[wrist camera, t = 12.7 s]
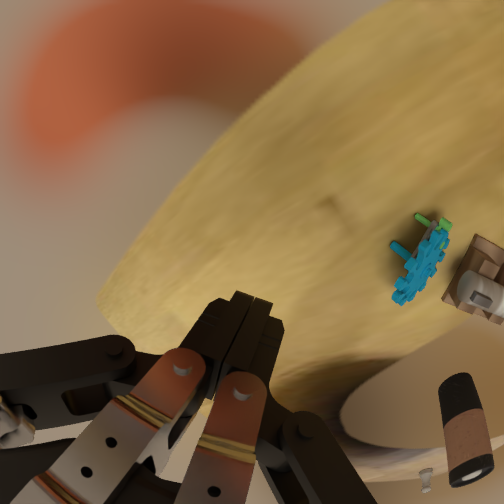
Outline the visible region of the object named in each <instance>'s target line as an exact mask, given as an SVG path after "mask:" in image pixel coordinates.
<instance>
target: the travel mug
mask: <svg viewBox="0 0 504 504" xmlns="http://www.w3.org/2000/svg"><path fill="white" fill-rule="evenodd" d="M438 394H439V401H440V407H441V414H442V421H443V429H444V437H445V444H446V452H447V460H448V471H449V483H450V485H451V487H452V488H457V487H461V486H465V485H468V484H471V483H473V482H475V481H477V480H479V479H481V478H483V477H485V476H486V475H488V474H489V473H490V472H492V471H493V469H494V460H493V454H492V448H491V443H490V437H489V433H488V428H487V424H486V419H485V415H484V411H483V408H482V405H481V402H480V399H479V396H478V393H477V390H476V387H475V385H474V382H473V379H472V377H471V375H470V374H468V373H458V374H455V375H453V376H451V377H449V378H448V379H446V380H445V381H444V382H443V383H442V384H441V386H440V387H439V390H438Z"/></svg>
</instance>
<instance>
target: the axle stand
mask: <svg viewBox="0 0 504 504" xmlns="http://www.w3.org/2000/svg"><path fill="white" fill-rule="evenodd" d="M441 299H442V301H443V302H445V303H448V304H451V305H453V306H456V308H457V309H459V310H462V311H465V312H467V313H470V314H473V313H474V314H477V315H480V316H482V317H485V318H487V319H488V320H489V321H491V322H494V323H496V324H499V325H501V323H502V322H503V320H504V250H503V249H502V248H500V247H498V246H497V245H495V244H493V243H491V242H490V241H488V240H486V239H484V238H482V237H481V236H479V235H477V234H475V236H474V238H473V240H472V242H471V244H470V246H469V248H468V251H467V253H466V255H465V257H464V259H463V261H462V263H461V264H460V266H459V268H458V270H457V272H456V274H455V276H454V278H453V279H452V281H451V283H450V285H449V286H448V288H447V290H446V292H445V293H444V295H443V297H442V298H441Z"/></svg>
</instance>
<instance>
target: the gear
mask: <svg viewBox="0 0 504 504" xmlns="http://www.w3.org/2000/svg"><path fill="white" fill-rule="evenodd" d="M415 219H416V220H418V221H419V222H421V223H422V224H424V225H425V226H427V227H428V229H427V231H426V233H425V234H424V236H423V238H422V239H421V241H420V243H419V244H418V246H417V248H416V249H415V251H414V252H413V254H411V253H410V252H409V251H407V250H406V249H405V248H403V247H402V246H401V245H399V244H398V243H397V242H395V241H394V242H392V244H391V246H390V248H391V249H392V250H393V251H395V252H396V253H397V254H398V255H400V256H401V257H402V258H403V259H405V260H406V261H407V262H406V264H405V265H404V268H405V269H407V270H408V274H407V276H406V277H405V278H403V277H402V276H400V277H399V278H398V279H397V281H396V283H395V285H394V287H396V288H397V290H396V291H395V292H394V293H393V295H392V300H393V301H394V302H395V303H396V304H397V303H398V304H399V305H400V306H402V305H403V304H404V303H405V302H406V300H407V301H408V302H410V301H411V300H413V298H414V297H415V294H416V292H417V291H419V292H420V291H422V290H423V289H424V288H425V286H426V281H427V279H428V277H429V276H430V277H431V278H432V277H433V275H434V274H435V273H436V271H437V269H436V268H435V265H436V263H437V261H439V262H441V261H442V260H443V258H444V256H445V253H444V252H443V251H442V249H446V248H447V246H448V244H449V241H450V240H449V239H448V238H447V237H448V232H449V231H450V229H451V227H452V223H451V222H449V221H448V220H446V219H445V218H441V220H440V222H437V221H436V220H433V221H432V222H430V221H429V220H427V219H426V218H424V217H423V216H421V215H420V214H418V213H417V214H416V215H415ZM444 229H445V230H444ZM447 231H448V232H447Z"/></svg>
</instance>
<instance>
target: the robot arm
mask: <svg viewBox="0 0 504 504" xmlns="http://www.w3.org/2000/svg"><path fill="white" fill-rule="evenodd" d="M272 306H273V303H271V302H268V301H265V300H263V299H260V298H257V297H255V299H254V296H251V295H248V294H246V293H243V292H240V291H236V292H235V293H234V295H233V297H232V298H231V300H230V301H227V300H224V299H222V298H218V299H216V300H214V301H212V302H210V303H209V304H208V306H207V307H206V308H205V310H204V311H203V314H201V316H200V317H199V318H198V321H196V323H195V324H194V326H193V327H192V328H191V330H190V331H189V333H188V334H187V336H186V337H185V338H184V340H183V341H182V343H181V344H180V346H179V347H178V348H174V349H171V350H169V351H167V352H166V353H164V354H163V355H154V354H148V353H143V352H138V351H136V350H135V346H134V345H133V343H132V342H131V341H130V340H129V339H127V338H126V337H123V336H120V335H107V336H102V337H98V338H92V339H88V340H82V341H77V342H71V343H66V344H61V345H55V346H49V347H43V348H38V349H32V350H25V351H19V352H12V353H5V354H0V504H245V502H246V497H247V494H248V490H249V486H250V482H251V478H252V474H253V470H254V466H255V461H256V460H258V464H259V466H260V468H261V470H262V472H263V474H264V476H265V478H266V480H267V482H268V484H269V486H270V488H271V490H272V492H273V494H274V496H275V498H276V500H277V502H278V503H279V504H377V502H376V501H375V499H374V498H373V496H372V495H371V493H370V492H369V490H368V489H367V487H366V486H365V484H364V483H363V481H362V480H361V478H360V476H359V475H358V473H357V472H356V470H355V469H354V467H353V466H352V464H351V463H350V461H349V460H348V458H347V456H346V455H345V453H344V452H343V450H342V449H341V447H340V445H339V444H338V442H337V441H336V439H335V438H334V436H333V434H332V433H331V431H330V430H329V428H328V426H327V425H326V423H325V422H324V421H323V419H322V418H320V417H319V416H318V415H316V414H314V413H311V412H307V411H298V412H295V413H292V412H290V411H289V410H287V409H286V408H284V407H283V406H281V405H280V404H278V403H277V402H276V401H275V399H274V398H273V397H272V395H271V393H270V389H269V382H270V378H271V375H272V371H273V368H274V365H275V362H276V358H277V355H278V352H279V348H280V345H281V341H282V338H283V334H284V331H285V330H284V327H283V323H282V320H280V319H277V318H274V317H271V316H269V314H270V311H271V308H272ZM215 392H216V393H215ZM214 394H215V397H214V400H213V401H214V403H213V406H212V408H211V411H210V414H209V416H208V419H207V422H206V425H205V427H204V430H203V432H202V435H201V437H200V438H199V441H198V443H197V446H196V448H195V451H194V453H193V456H192V459H191V461H190V464H189V466H188V469H187V471H186V474H185V477H184V479H183V482H182V483H177V482H172V481H168V480H164V479H161V478H159V475H160V474H161V472H162V471H163V469H164V468H165V466H166V464H167V462H168V460H169V457H170V455H171V453H172V451H173V450H174V448H175V447H176V445H177V444H178V442H179V441H180V439H181V438H182V436H183V434H184V433H185V432H186V430H187V428H188V427H189V425H190V424H191V422H192V421H193V419H194V418H195V416H196V414H197V412H198V410H199V408H200V406H201V405H202V403H203V401H204V399H205V398H207V399H210V400H212V398H213V396H214ZM90 420H93V421H92V422H91V423H90V424H89V425H88V426H87V427H86V428H85V429H84V431H83V432H82V433H81V434H80V435H79V436H78V437H77V438H66V439H61V440H56V441H51V442H46V443H41V444H35V445H29V446H22V447H19V446H21V445H24V444H27V443H31V442H32V441H33V440H34V434H35V430H42V429H48V428H54V427H60V426H65V425H71V424H76V423H80V422H85V421H90ZM116 445H117V446H116Z"/></svg>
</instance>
